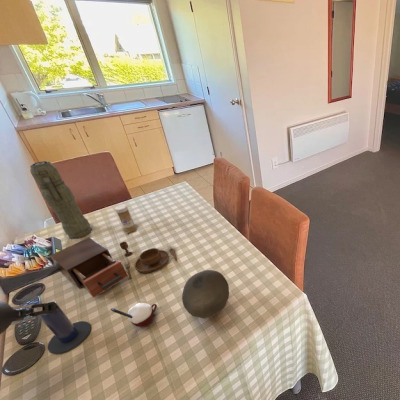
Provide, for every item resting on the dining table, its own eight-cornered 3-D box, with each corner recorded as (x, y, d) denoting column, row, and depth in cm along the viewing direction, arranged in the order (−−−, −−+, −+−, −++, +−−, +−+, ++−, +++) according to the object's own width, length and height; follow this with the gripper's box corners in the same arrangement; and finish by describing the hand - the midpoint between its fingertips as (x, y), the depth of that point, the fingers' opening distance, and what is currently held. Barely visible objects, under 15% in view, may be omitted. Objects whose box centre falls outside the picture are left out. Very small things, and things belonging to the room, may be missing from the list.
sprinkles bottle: (125, 235, 122) (114, 210, 115) (126, 230, 125) (114, 206, 119) (137, 232, 124) (126, 207, 117) (137, 227, 128) (126, 203, 121)
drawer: (134, 280, 97) (126, 265, 94) (99, 302, 89) (89, 287, 85) (110, 263, 105) (102, 249, 102) (75, 282, 97) (66, 267, 93)
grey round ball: (179, 327, 82) (164, 294, 74) (202, 290, 94) (192, 259, 86) (222, 332, 80) (211, 299, 73) (240, 294, 92) (233, 263, 85)
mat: (56, 360, 73) (55, 359, 73) (42, 343, 78) (41, 341, 78) (97, 331, 81) (96, 330, 81) (82, 317, 85) (81, 315, 85)
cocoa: (158, 307, 88) (146, 282, 82) (162, 321, 84) (149, 295, 78) (125, 323, 83) (109, 297, 77) (127, 338, 79) (110, 312, 73)
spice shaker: (64, 346, 77) (39, 317, 70) (57, 338, 78) (33, 310, 72) (81, 334, 80) (59, 305, 73) (74, 327, 81) (52, 299, 75)
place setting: (129, 283, 97) (123, 271, 94) (122, 254, 111) (116, 243, 108) (180, 261, 107) (176, 250, 104) (167, 237, 120) (163, 227, 117)
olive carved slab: (71, 243, 117) (26, 170, 100) (66, 232, 124) (23, 163, 107) (95, 233, 123) (56, 163, 105) (89, 224, 130) (51, 156, 112)
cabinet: (116, 266, 105) (107, 249, 100) (79, 288, 95) (66, 270, 91) (99, 254, 111) (89, 237, 107) (62, 273, 102) (49, 255, 97)
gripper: (16, 293, 56) (67, 290, 71) (-75, 314, 52) (-1, 305, 67) (16, 331, 54) (68, 319, 70) (-79, 355, 50) (-1, 337, 66)
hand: (34, 312), depth 68 cm, fingers open, 8 cm apart
